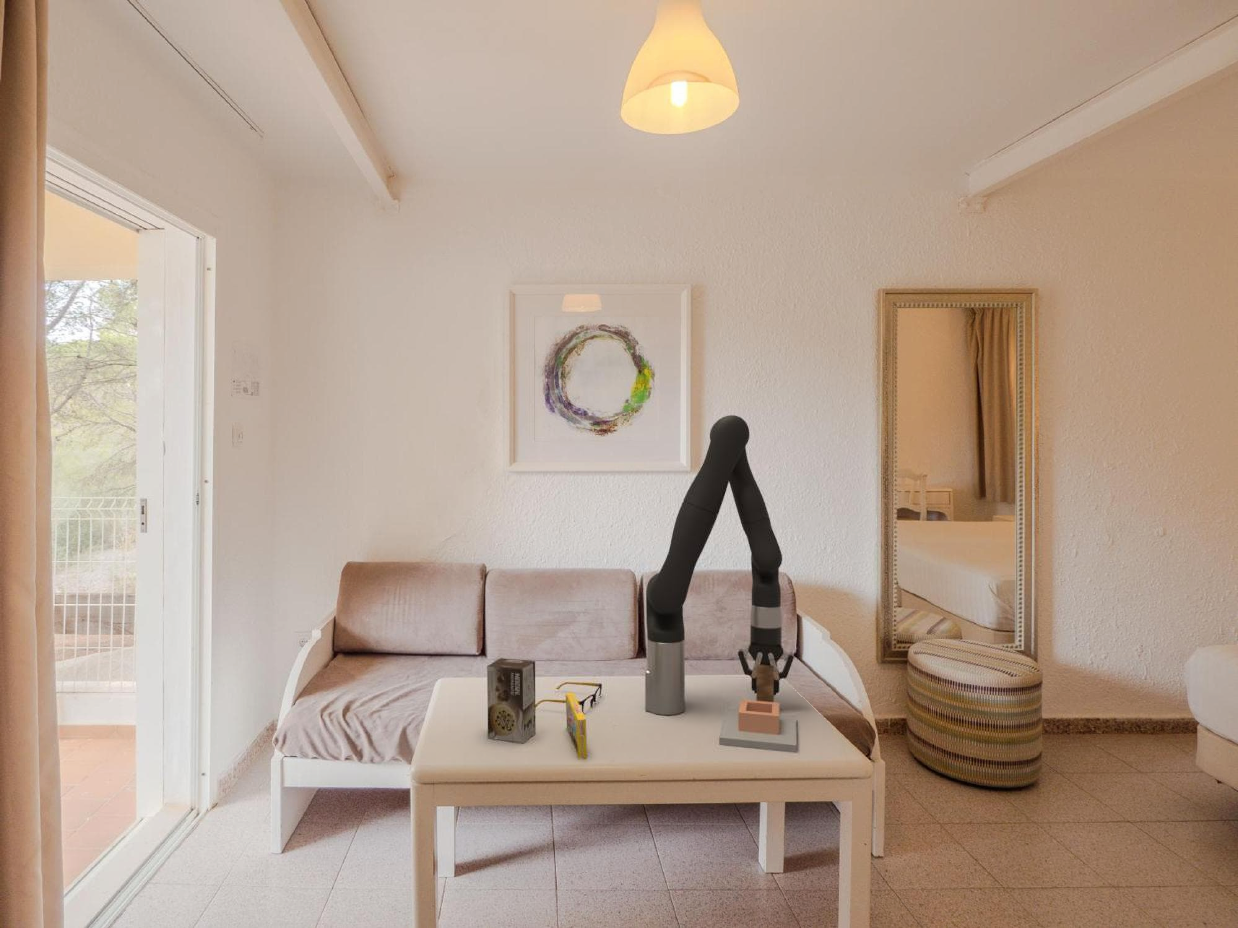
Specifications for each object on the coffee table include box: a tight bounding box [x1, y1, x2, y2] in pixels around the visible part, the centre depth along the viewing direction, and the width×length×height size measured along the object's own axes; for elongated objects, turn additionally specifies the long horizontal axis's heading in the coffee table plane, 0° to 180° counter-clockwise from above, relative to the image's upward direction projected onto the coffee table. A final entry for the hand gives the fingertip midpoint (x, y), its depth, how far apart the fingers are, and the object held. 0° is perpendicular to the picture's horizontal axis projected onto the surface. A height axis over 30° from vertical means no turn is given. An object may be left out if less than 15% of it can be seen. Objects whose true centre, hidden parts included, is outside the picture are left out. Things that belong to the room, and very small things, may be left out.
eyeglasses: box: [535, 681, 603, 714], centre depth 166 cm, size 14×14×4 cm
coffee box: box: [486, 657, 537, 744], centre depth 145 cm, size 9×6×16 cm
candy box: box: [565, 692, 588, 760], centre depth 141 cm, size 16×2×8 cm, turn 13°
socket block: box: [718, 699, 798, 753], centre depth 147 cm, size 16×18×6 cm
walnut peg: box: [756, 664, 775, 702], centre depth 161 cm, size 4×4×10 cm
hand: (765, 692), depth 161 cm, fingers closed on walnut peg, 4 cm apart
